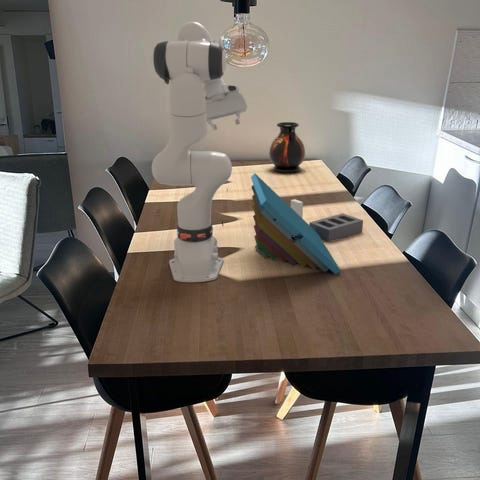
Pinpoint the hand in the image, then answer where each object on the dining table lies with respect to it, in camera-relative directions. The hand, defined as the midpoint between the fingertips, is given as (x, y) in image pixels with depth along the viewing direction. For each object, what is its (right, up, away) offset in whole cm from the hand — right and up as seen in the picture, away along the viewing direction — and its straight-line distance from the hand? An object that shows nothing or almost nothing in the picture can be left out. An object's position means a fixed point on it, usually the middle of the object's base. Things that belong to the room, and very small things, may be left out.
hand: (226, 126), depth 193 cm
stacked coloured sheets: (+24, -50, -15) cm, 58 cm away
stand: (+44, -42, +5) cm, 60 cm away
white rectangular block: (+28, -40, +10) cm, 50 cm away
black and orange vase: (+33, -3, +105) cm, 110 cm away
